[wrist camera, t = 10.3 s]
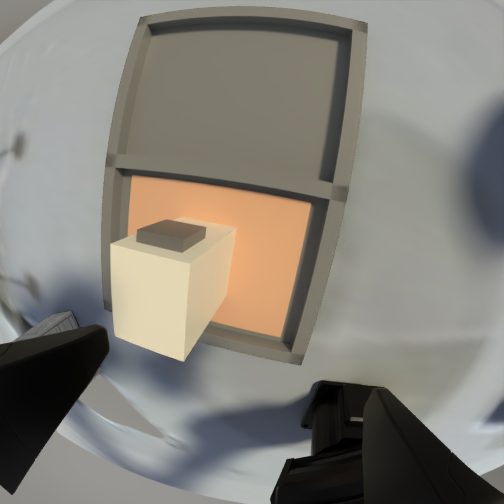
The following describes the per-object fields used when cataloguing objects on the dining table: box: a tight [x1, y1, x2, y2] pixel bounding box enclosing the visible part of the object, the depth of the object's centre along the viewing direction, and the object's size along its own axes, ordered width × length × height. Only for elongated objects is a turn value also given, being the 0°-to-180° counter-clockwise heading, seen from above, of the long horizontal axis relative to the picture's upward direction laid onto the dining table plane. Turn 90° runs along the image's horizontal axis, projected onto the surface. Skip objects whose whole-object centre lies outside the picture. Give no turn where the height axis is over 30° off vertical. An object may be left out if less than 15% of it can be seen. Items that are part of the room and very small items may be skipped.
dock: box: [101, 6, 368, 365], centre depth 17 cm, size 25×17×2 cm
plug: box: [110, 217, 237, 362], centre depth 15 cm, size 6×4×8 cm
